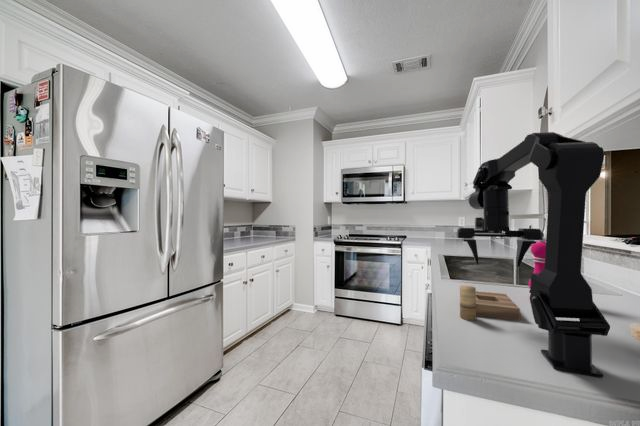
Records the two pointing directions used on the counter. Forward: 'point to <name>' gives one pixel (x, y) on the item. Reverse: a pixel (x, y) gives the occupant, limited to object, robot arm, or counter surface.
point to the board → (496, 306)
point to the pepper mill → (538, 256)
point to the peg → (468, 302)
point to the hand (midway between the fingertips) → (496, 265)
